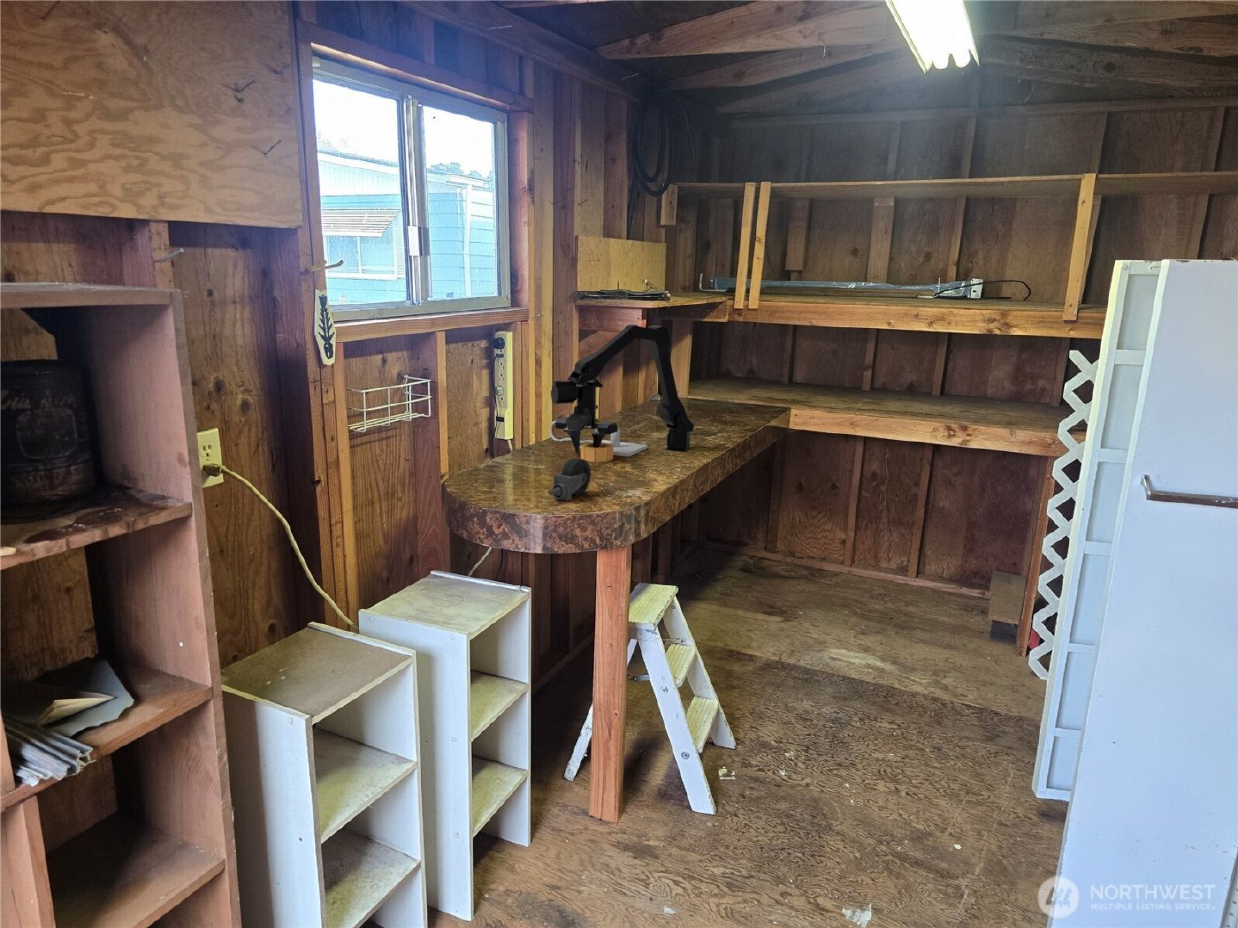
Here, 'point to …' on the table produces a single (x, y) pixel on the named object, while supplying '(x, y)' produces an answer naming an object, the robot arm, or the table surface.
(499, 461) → the table surface
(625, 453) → the post board
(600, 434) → the robot arm
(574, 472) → the caster wheel
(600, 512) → the table surface
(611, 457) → the wooden bowl
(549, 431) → the hook
